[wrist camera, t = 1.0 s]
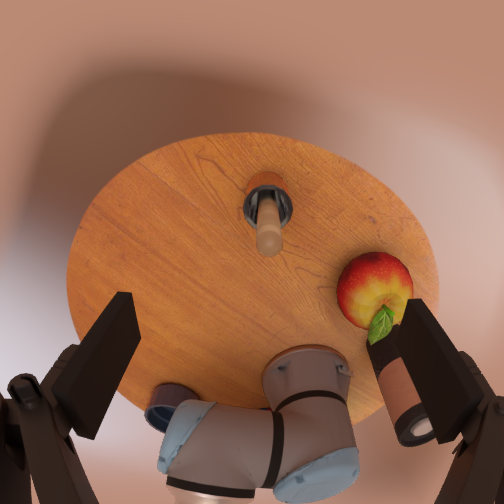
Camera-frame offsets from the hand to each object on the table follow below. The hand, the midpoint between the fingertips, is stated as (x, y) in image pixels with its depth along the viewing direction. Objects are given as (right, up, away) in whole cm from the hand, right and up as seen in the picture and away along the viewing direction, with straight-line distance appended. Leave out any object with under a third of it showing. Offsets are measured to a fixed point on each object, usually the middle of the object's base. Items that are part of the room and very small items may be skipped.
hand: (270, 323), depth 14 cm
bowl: (-16, -25, +42) cm, 52 cm away
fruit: (+16, 0, +31) cm, 35 cm away
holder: (+1, +11, +26) cm, 29 cm away
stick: (+1, +11, +26) cm, 28 cm away
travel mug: (+22, -12, +35) cm, 43 cm away
